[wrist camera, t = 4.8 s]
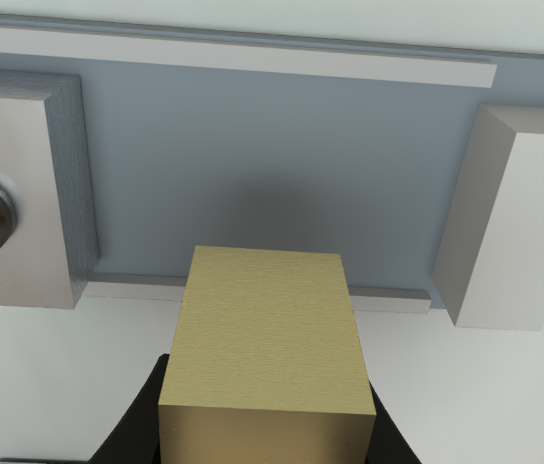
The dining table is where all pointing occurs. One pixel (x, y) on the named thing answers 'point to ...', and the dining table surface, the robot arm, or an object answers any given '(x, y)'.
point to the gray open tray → (308, 160)
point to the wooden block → (265, 363)
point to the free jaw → (44, 192)
